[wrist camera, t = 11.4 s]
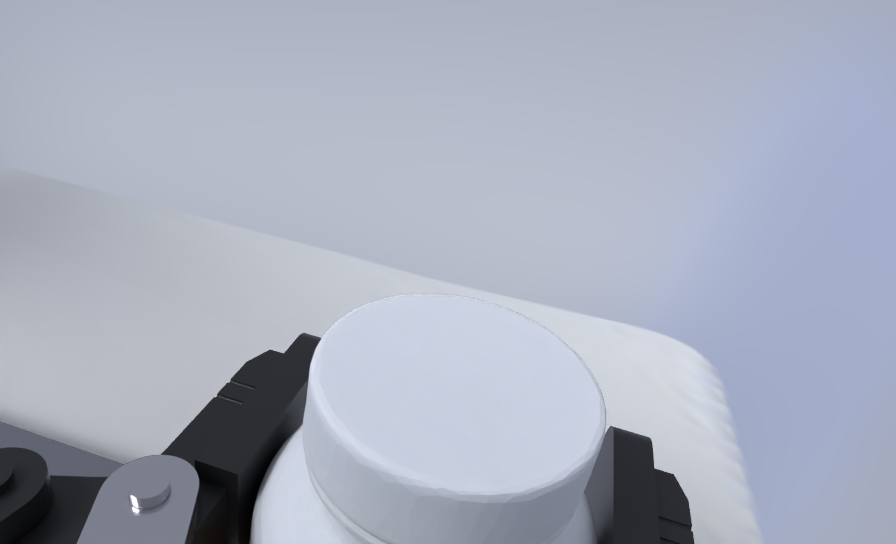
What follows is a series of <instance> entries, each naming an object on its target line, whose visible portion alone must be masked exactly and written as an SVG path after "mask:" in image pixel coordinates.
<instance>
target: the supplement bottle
mask: <svg viewBox="0 0 896 544" xmlns="http://www.w3.org/2000/svg"><path fill="white" fill-rule="evenodd" d="M605 427H606V409H605V403H604V399H603V396H602V393H601V390H600V388H599V385H598V383H597V381H596V379H595V377H594V376H593V374H592V373H591V371H590V370H589V368H588V367H587V365H586V364H585V363H584V362H583V360H582V359H581V358H580V357H579V356H578V355H577V354H576V352H575V351H574V350H573V349H571V348H570V347H569V346H568V345H567V344H566V343H565V342H564V341H563V340H561V339H560V338H559V337H557V336H556V335H555V334H553V333H552V332H551V331H549V330H548V329H547V328H545V327H543V326H542V325H540V324H538V323H537V322H535V321H533V320H531V319H529V318H527V317H525V316H523V315H521V314H519V313H517V312H514V311H512V310H510V309H507V308H504V307H501V306H499V305H496V304H492V303H489V302H486V301H482V300H478V299H474V298H469V297H463V296H457V295H449V294H428V293H421V294H406V295H398V296H392V297H387V298H384V299H380V300H377V301H373V302H370V303H367V304H364V305H362V306H360V307H358V308H356V309H354V310H353V311H351V312H349V313H348V314H346V315H344V316H343V317H341V318H340V319H339V320H338V321H337V322H335V323H334V324H333V325H332V326H331V327H330V328H329V329H328V331H327V332H326V333H325V334H324V335H323V337H322V339H321V340H320V342H319V344H318V345H317V347H316V349H315V352H314V355H313V358H312V361H311V364H310V370H309V380H308V390H307V399H306V406H305V412H304V418H303V424H302V425H301V426H300V427H299V428H298V429H297V430H296V431H295V432H294V433H293V434H292V435H291V436H290V437H289V438H288V439H287V440H286V441H285V443H284V444H283V445H282V447H281V448H280V450H279V451H278V452H277V454H276V455H275V456H274V458H273V460H272V462H271V464H270V465H269V467H268V469H267V471H266V473H265V476H264V478H263V480H262V483H261V485H260V488H259V491H258V494H257V497H256V501H255V505H254V510H253V515H252V523H251V533H250V542H249V544H597V538H596V532H595V526H594V521H593V517H592V513H591V510H590V507H589V504H588V501H587V498H586V496H585V494H584V490H585V488H586V485H587V483H588V480H589V478H590V476H591V473H592V470H593V467H594V464H595V462H596V459H597V457H598V454H599V452H600V449H601V446H602V443H603V439H604V435H605Z"/></svg>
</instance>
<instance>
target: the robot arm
mask: <svg viewBox="0 0 896 544" xmlns="http://www.w3.org/2000/svg"><path fill="white" fill-rule="evenodd" d="M321 339H322V338H319V337H316V336H313V335H309V334H306V333H302V334H301V335H299V336H298V338H297V339H296V340H295V341H294V342H293V343H292V345H291V346H290V347H289V348H288V349H287V351H286V352H285V353H284V354H283V353H280V352H277V351H273V350H269V351H267V352H265V353H263V354H261V355H259V356H257V357H255V358H253V359H251V360H249V361H247V362H246V363H245V364H244V365H243V366H242V368H241V369H240V370H239V371H238V372H237V373H236V374H235V375H234V376H233V377H232V378H231V381H230V383H227V384H226V385H225V386H224V387H223V388H222V389H221V390H220V391H219V392H218V394H217V397H216V398H215V397H214V398H213V399H212V400H211V401H210V402H209V403H208V404H207V405H206V407H205V408H204V409H203V410H202V411H201V412H200V413H199V414H198V415H197V416H196V417H195V418H194V420H193V421H192V422H191V423H190V424H189V425H188V426H187V427H186V428H185V429H184V430H183V432H182V433H181V434H180V435H179V436H178V437H177V438H176V439H175V440H174V441H173V442H172V443H171V445H170V446H169V447H168V448H167V449H166V450H165V451H164V452H163V453H162V454H161V455H152V456H147V457H143V458H139V459H136V460H134V461H131V462H129V463H127V464H125V465H123V466H122V467H120V468H119V469H117V470H116V471H115V472H113V473H112V474H111V475H110V476H108V477H85V476H54V475H49V471H48V467H47V464H46V461H45V460H44V458H43V457H42V456H41V455H39V454H38V453H36V452H34V451H32V450H29V449H25V448H18V447H7V448H0V544H249V542H250V533H251V523H252V515H253V510H254V505H255V501H256V497H257V494H258V491H259V488H260V485H261V483H262V480H263V478H264V476H265V473H266V471H267V469H268V467H269V465H270V464H271V462H272V460H273V458H274V456H275V455H276V454H277V452H278V451H279V450H280V448H281V447H282V445H283V444H284V443H285V441H286V440H287V439H288V438H289V437H290V436H291V435H292V434H293V433H294V432H295V431H296V430H297V429H298V428H299V427H300V426H301V425H302V424H303V418H304V412H305V406H306V399H307V390H308V380H309V370H310V364H311V361H312V358H313V355H314V352H315V349H316V347H317V345H318V344H319V342H320V340H321ZM584 494H585V496H586V498H587V501H588V504H589V507H590V510H591V513H592V517H593V521H594V526H595V532H596V538H597V544H694V538H693V532H692V531H691V527H692V524H691V516H690V509H689V502H688V499H687V497H686V496H685V494H684V492H683V490H682V488H681V487H680V485H679V483H678V481H677V480H676V478H675V476H674V474H670V473H667V472H664V471H661V470H657V469H654V459H653V447H652V441H651V439H650V438H649V437H646V436H642V435H639V434H636V433H632V432H629V431H626V430H622V429H619V428H616V427H612V426H610V427H609V429H608V430H607V432H606V434H605V437H604V439H603V443H602V446H601V449H600V452H599V454H598V457H597V459H596V462H595V464H594V467H593V470H592V473H591V476H590V478H589V480H588V483H587V485H586V488H585V490H584Z"/></svg>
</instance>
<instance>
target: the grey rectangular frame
mask: <svg viewBox="0 0 896 544" xmlns="http://www.w3.org/2000/svg"><path fill="white" fill-rule="evenodd" d="M7 447H18V448H25V449H29V450H32V451H34V452H36V453H38V454H39V455H41V456H42V457H43V458H44V460H45V461H46V464H47V467H48V471H49V475H54V476H85V477H108V476H110V475H111V474H112V473H113V472H115V471H116V470H117V469H119V468H120V467H122V466H123V465H124V464H121V463H118V462H115V461H112V460H109V459H107V458H104V457H101V456H98V455H95V454H92V453H89V452H86V451H83V450H80V449H77V448H75V447H72V446H69V445H66V444H63V443H60V442H57V441H54V440H51V439H48V438H46V437H43V436H40V435H37V434H34V433H31V432H28V431H25V430H22V429H19V428H17V427H14V426H11V425H8V424H5V423H2V422H0V448H7Z"/></svg>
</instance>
